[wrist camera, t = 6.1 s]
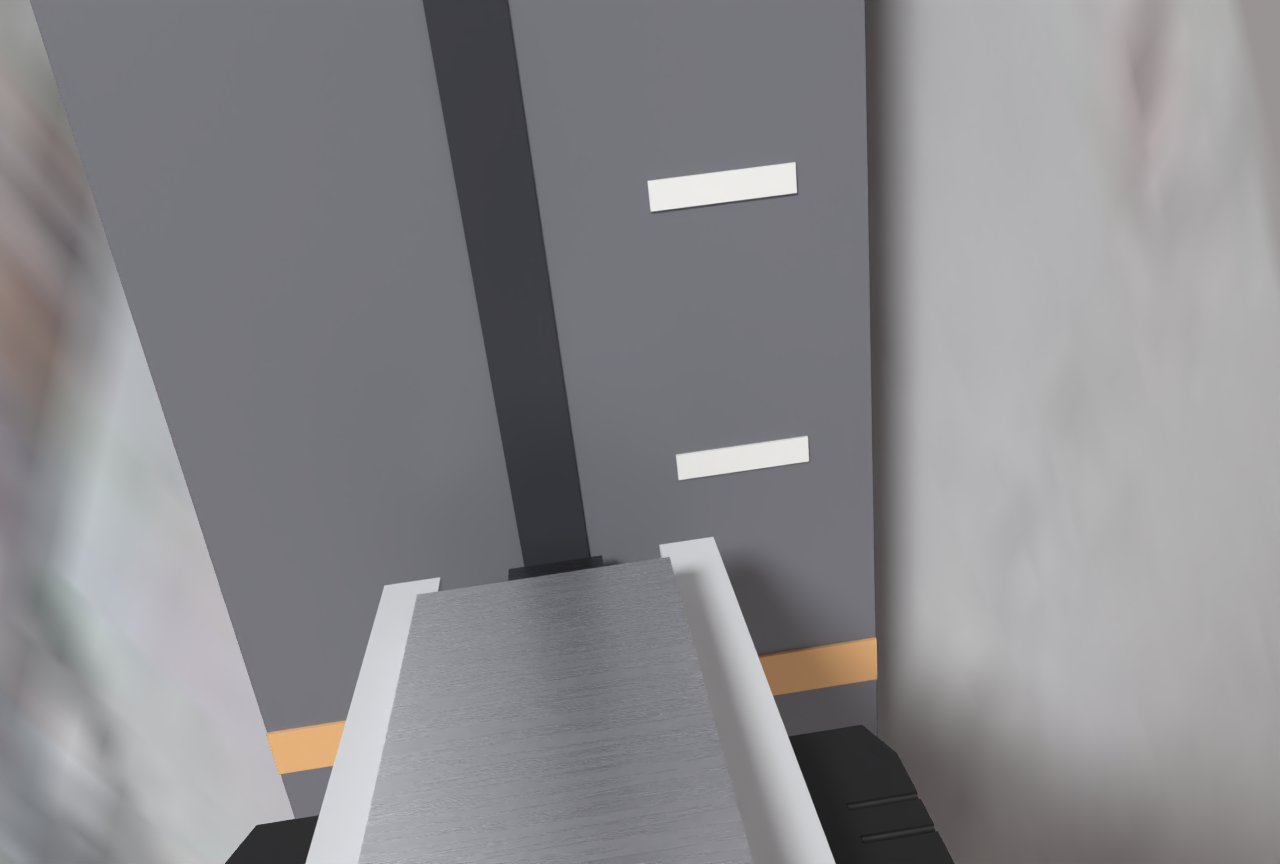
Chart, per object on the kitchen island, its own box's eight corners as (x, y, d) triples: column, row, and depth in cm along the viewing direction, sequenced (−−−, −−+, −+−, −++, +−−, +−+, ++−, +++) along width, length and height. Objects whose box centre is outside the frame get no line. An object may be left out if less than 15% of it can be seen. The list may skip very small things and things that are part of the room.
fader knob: (437, 495, 13) (292, 1144, 5) (645, 465, 14) (805, 1049, 6) (486, 725, 15) (431, 1496, 7) (672, 695, 15) (829, 1413, 7)
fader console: (-2, -340, 11) (-109, -421, 9) (806, -414, 12) (857, -504, 10) (383, 951, 20) (367, 1046, 18) (848, 871, 20) (882, 955, 18)
